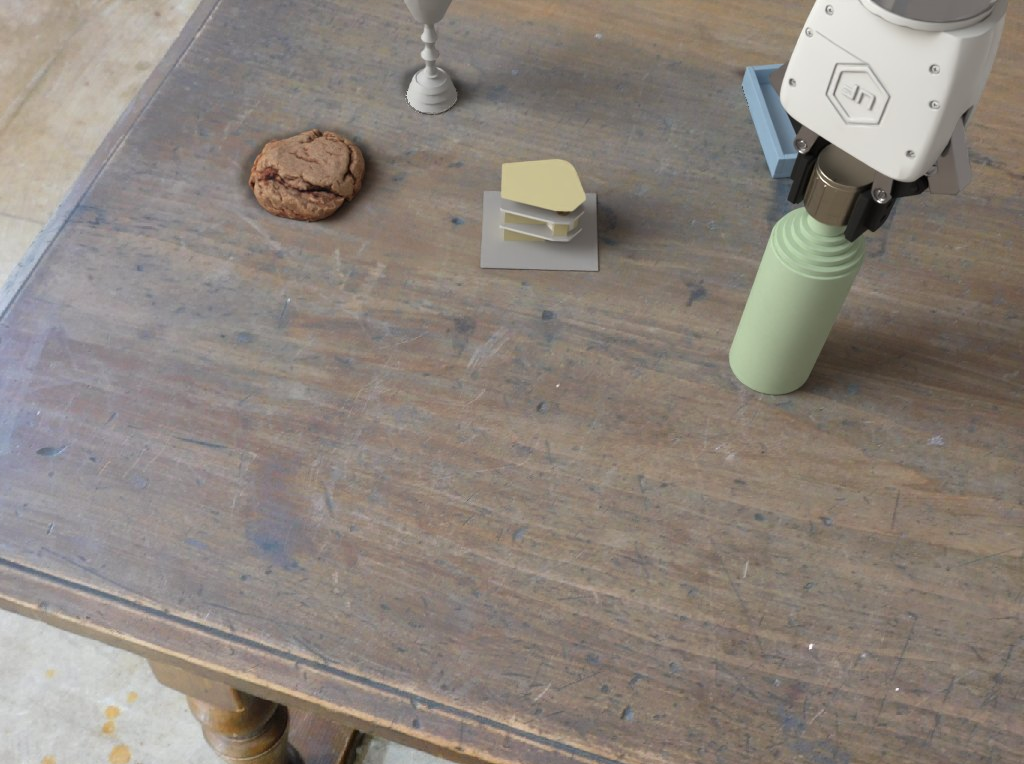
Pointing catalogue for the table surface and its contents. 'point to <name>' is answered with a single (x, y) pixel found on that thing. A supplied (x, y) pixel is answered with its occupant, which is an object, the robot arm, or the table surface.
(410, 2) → the chalice
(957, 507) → the table surface
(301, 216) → the cookie
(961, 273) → the table surface
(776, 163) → the tray
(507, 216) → the stacked layers on plate
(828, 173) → the bronze metal cap
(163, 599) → the table surface
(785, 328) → the bottle
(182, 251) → the table surface
